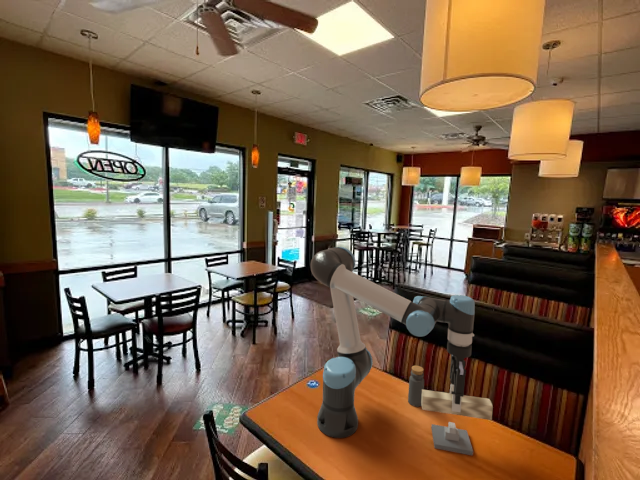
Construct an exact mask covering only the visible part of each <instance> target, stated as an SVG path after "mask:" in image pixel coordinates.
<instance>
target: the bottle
mask: <svg viewBox="0 0 640 480" xmlns="http://www.w3.org/2000/svg"><path fill="white" fill-rule="evenodd" d="M424 370H425V369H424V367H422V366H420V365H413V366H411V371H410V376H409V379H408V381H409V382H408V394H407V396H408V397H407V400H408V401H407V402H408V404H409V405H411V406H412V407H415V408H416V407H417V408H418V407H422V405H421V397H422V390H425V379H424V377H425V374H424Z"/></svg>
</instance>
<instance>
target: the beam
mask: <svg viewBox="0 0 640 480" xmlns="http://www.w3.org/2000/svg"><path fill="white" fill-rule="evenodd" d="M452 396H453V394H451V393H450V392H444V391H436V390H435V391H434V390H430V389H429V390H428V389H424V390H422V397H421V405H422V406H421V410H424V411H429V412H436V413H441V414H450V415H456V416H462V417H467V418H475V419H481V420H487V421H488V420H489V421H492V420H493V408H494V407H493V403H492V401H491V400H490V398H486V397H478V396H470V395H465V394H464V396H463V397H462V399H461V412H454V411H452Z"/></svg>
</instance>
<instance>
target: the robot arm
mask: <svg viewBox="0 0 640 480" xmlns="http://www.w3.org/2000/svg"><path fill="white" fill-rule="evenodd" d="M355 267H356V257H355V254H353V252H352V251H351V250H350V249H349V248H346V247H343V246H334V247H331V248H327V249H324V250H323V249H322V250H320V251H318V252H316V253H315V255H313V257H312V259H311V260H310V271H311V274H312V275H313V277H314V278H315V279H316V280H317V282H320V283H321V284H322V285H324V286H326V287H328V288H329V289H330V295H331V301H332V306H333V313H334V319H335V323H336V330H337V335H338V340H339V341H338V342H339V345H338V347H337V348H336V351H337V356H336V357H332V358H330V359H329V360H327V362H325V364H324V366H323V372H322V402H321V406H320V408H319V409H318V412H317V413H318V414H317V418H316V419H317V421H316V424H317V427H318V429H319V431H321V432H322V433H323V434H324V435H325V436H328V437H331V438H336V439H342V438H343V439H344V438H348V437H350V436H352V435H353V434H355V433H356V431H357V430H358V427H359V417H358V414H357V411H356V406H355V392H356V389H357V388H358V387H359V385H360V384H361V383H362V382H363V380H364V379H365V378H366V377H367V376H368V375H369V373H370V372H371V370H372V368H373V356H372V353H371V352H370V350H368V349H367V347H366V343H364V342H363V341H362V340H361V339H362V338H361V334H360V329H359V322H358V321H359V320H358V318H357V317H358V316H357V311H356V305H355V300H354V298H355V299H356V300H358V301H360V302H362V303H364V304H366V305H368V306H369V307H372V308H374V309H375V310H378V311H379V312H381V313H382V314H385V315H386V316H388V317H390V318H392V319H394V320H395V321H398V322H400V323H402V324H404V325H405V327H406V329H407V330H408V332H409V333H410V334H411V335H412V336H415V337H422V338H423V337H425V336H427V335H428V334H429V333H431V332H432V330H433V329H434V327H435V324H436V323H437V322H439V323H445V324H446V323H447V324H448V328H447V343H446V352H447V353H449V355H450V366H449V368H450V369H449V379H450V381H449V382H450V386H449V387H450V389H449V393H451V394H453V396H452V411H454V412H461V399H462V397H463V396H464V395H465V384H466V383H465V381H466V376H467V375H466V374H467V369H466V364H467V363H466V360H465V359H467V358H469V357H471V356H472V349H473V348H472V347H473V345H472V343H473V337H475V334H474V333H473V332H474V322H475V313H476V312H475V310H476V309H475V308H476V307H475V305H476V302H475V300H474V299H473V298H472V297H470V296H468V295H462V294H461V295H460V294H459V295H458V294H455V295H451V296H450V299H449V300H446V299H440V298H435V297H429V296H423V295H422V296H421V295H417V296H414V298H413V300H412V301H411V300H410V299H407V298H405V297H404V296H401V295H399V294H398V293H395V292H393V291H391V290H389V289H388V288H385V287H383V286H381V285H379V284H377V283H375V282H373V281H371V280H369V279H367V278H365V277H364V276H361V275H359V274H357V273H355V272H354V269H355Z"/></svg>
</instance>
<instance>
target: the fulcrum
mask: <svg viewBox="0 0 640 480" xmlns="http://www.w3.org/2000/svg"><path fill="white" fill-rule="evenodd" d="M447 425H448V426H445V425H439V424H434V423H431V435H432V442H433V447H434V449H435V450H436V449H438V450H443V451H447V452H453V453H457V454H462V455H467V456H473V455H474V450H473V446H472V444H471V440H470V436H469V433H468V430H466V429H463V428H462V429H461V428H457V427H456V423H455V422H451V421H448V424H447Z"/></svg>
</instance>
